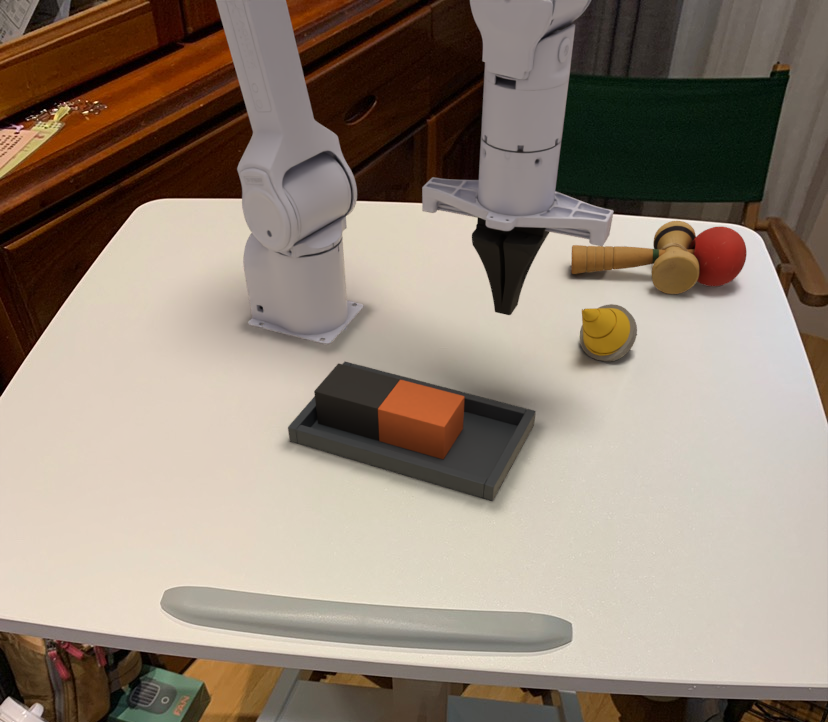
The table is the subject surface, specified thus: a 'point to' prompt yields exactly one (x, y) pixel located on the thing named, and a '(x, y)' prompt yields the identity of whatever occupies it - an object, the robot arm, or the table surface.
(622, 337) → the spiral yellow cone
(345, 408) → the black block
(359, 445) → the tray
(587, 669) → the table surface
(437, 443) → the orange block
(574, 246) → the kendama
